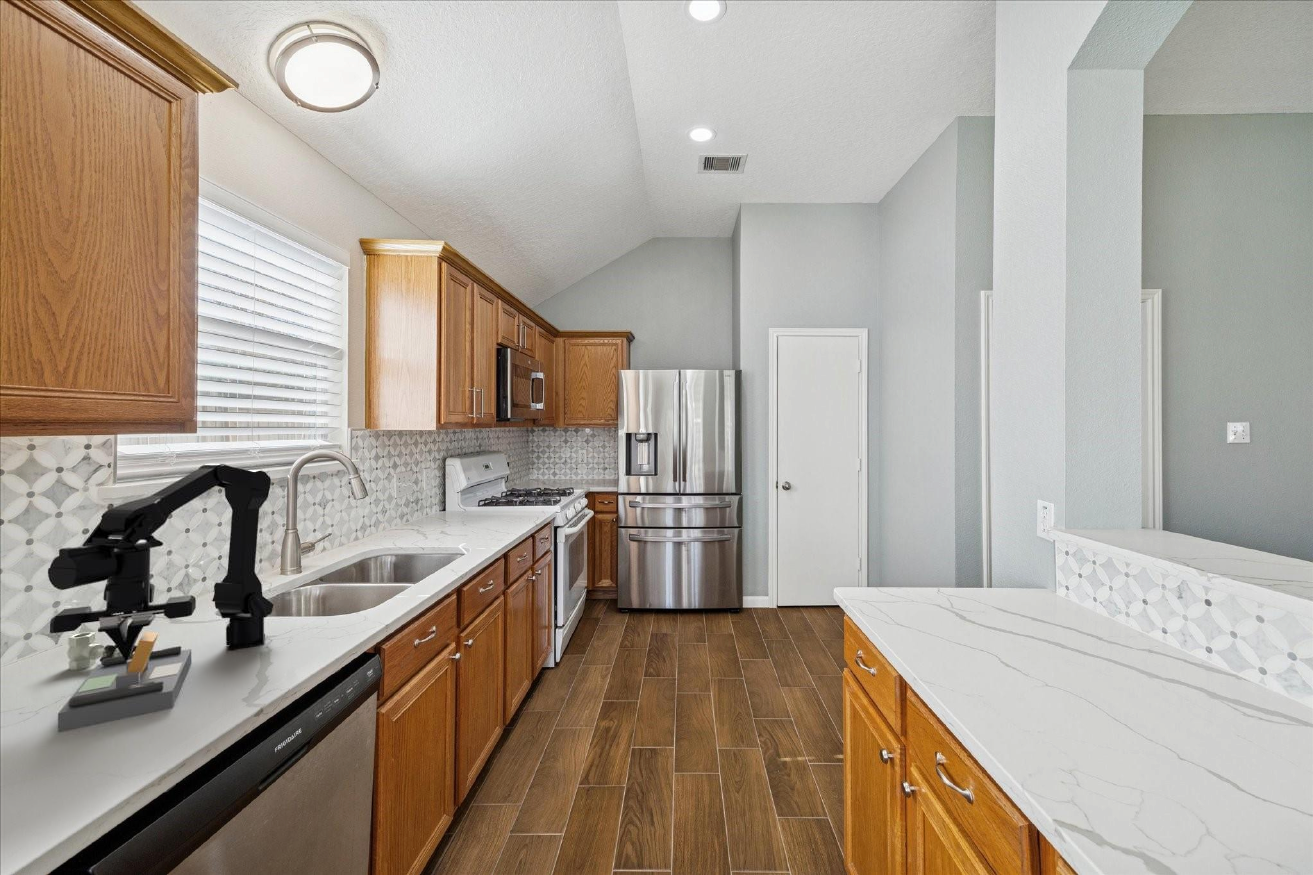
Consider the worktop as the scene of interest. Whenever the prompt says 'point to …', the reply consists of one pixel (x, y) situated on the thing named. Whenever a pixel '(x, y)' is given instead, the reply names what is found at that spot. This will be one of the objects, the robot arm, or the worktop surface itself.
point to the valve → (89, 651)
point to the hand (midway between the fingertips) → (127, 659)
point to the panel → (126, 689)
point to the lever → (142, 652)
